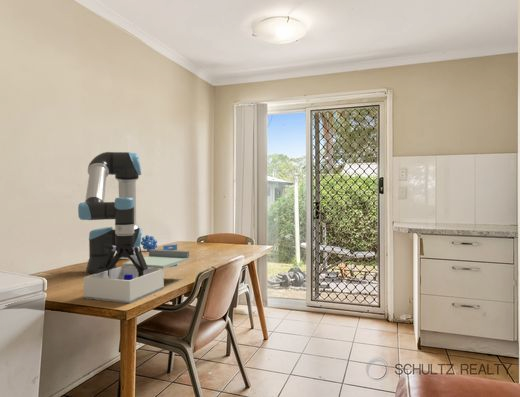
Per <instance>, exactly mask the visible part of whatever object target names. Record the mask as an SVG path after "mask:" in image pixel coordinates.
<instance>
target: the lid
mask: <svg viewBox="0 0 520 397" xmlns="http://www.w3.org/2000/svg"><path fill="white" fill-rule="evenodd" d="M143 257H144V256H143ZM144 260H145V262H146V264H147V267H148V268H151V269H163V270H165V269H166V268H170V267H174V266H173V265H176V264H177V265H178V264H180V263H184V262H187V261H189V260H190V250H177V251H173V250H163V249H155V250H152V249H151V250H149V251H148V256H145V257H144ZM121 267H135V266H134V264H133V263H132V261H131V260H128V261H125V262H122V263H121Z"/></svg>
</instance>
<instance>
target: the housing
mask: <svg viewBox="0 0 520 397" xmlns="http://www.w3.org/2000/svg"><path fill="white" fill-rule="evenodd" d="M164 270H165V269H161V268H148V269H146V270H144V271H143V276H140V277H137V278H136V272H137V271H138V270H137V269H136V267H131V266H119V267H116V268H115V279H109V277H108V271H104V272H101V273H97V274H91V275H87V276H84V277H83V299H84V298H86V299H85V300H92V299H95V301H101V300H102V302H111V301H112V302H114V303H120V304H132V303H135V302H137V301H139V300H141V299H144V298H146V297H148V296H150V295H153V294H155V293H157V292H160V291H162V290H164V289H165V287H164V286H165V284H164V283H165V279H164V277H165V276H164ZM126 274H133V279H132V280H124V275H126Z"/></svg>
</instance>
